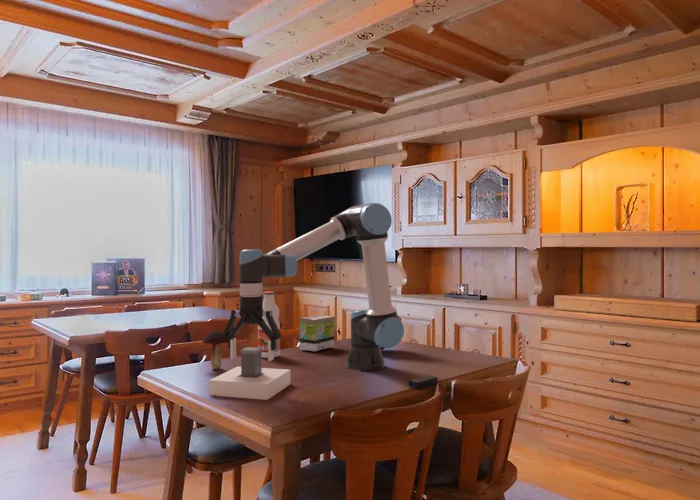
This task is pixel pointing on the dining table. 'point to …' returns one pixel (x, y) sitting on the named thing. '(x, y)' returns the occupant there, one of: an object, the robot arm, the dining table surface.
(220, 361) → the decorative mushroom
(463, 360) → the dining table surface
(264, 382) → the socket
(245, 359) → the plug
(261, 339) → the fruit juice
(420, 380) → the multiport hub
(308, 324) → the tea box
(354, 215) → the robot arm
